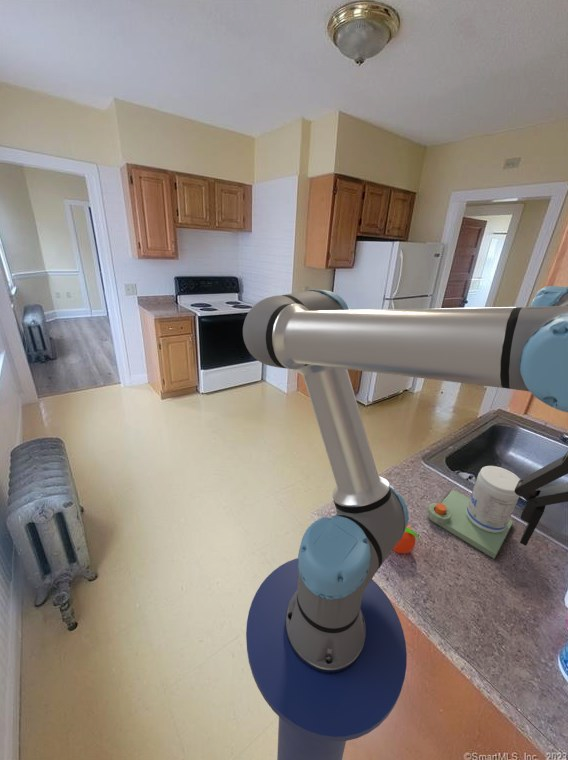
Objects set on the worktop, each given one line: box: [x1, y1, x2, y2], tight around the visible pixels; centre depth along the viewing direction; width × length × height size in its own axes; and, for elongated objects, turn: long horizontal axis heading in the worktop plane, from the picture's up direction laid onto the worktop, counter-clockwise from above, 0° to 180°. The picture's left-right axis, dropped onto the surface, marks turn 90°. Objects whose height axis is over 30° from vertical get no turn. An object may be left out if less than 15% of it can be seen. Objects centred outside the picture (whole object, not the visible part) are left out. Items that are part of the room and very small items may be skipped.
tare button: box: [435, 502, 447, 515], centre depth 87 cm, size 3×3×2 cm
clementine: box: [392, 524, 421, 554], centre depth 79 cm, size 8×7×7 cm
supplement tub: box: [466, 465, 521, 533], centre depth 84 cm, size 10×10×15 cm
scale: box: [427, 489, 514, 559], centre depth 87 cm, size 17×16×4 cm
